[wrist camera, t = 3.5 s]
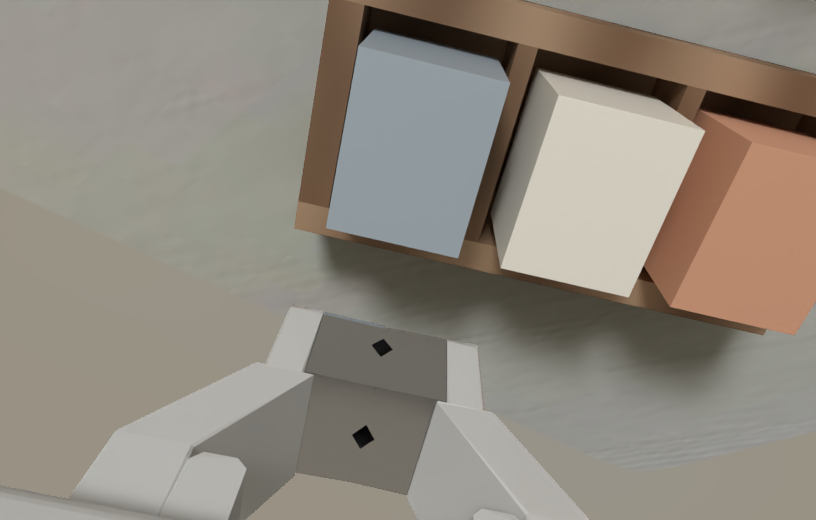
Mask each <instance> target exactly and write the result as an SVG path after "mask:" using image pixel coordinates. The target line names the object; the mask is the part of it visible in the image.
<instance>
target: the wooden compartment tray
mask: <svg viewBox="0 0 816 520" xmlns="http://www.w3.org/2000/svg"><path fill="white" fill-rule="evenodd" d="M375 28H380V29H384V30H388V31H392V32H396V33H400V34H404V35H408V36H412V37H416V38H420V39H424V40H428V41H432V42H436V43H440V44H444V45H448V46H452V47H456V48H461V49H465V50H469V51H473V52H477V53H481V54H485V55H489V56H493V57H497V58H498V60H499V62H500V64H501V66H502V68H503V70H504V72H505V74H506V76H507V78H508V80H509V82H510V86H509V89H508V92H507V96H506V99H505V102H504V106H503V109H502V112H501V116H500V119H499V123H498V126H497V129H496V133H495V136H494V139H493V143H492V146H491V149H490V153H489V156H488V159H487V163H486V166H485V170H484V173H483V176H482V180H481V183H480V186H479V190H478V193H477V196H476V200H475V203H474V206H473V210H472V213H471V217H470V220H469V223H468V227H467V230H466V233H465V237H464V240H463V243H462V247H461V250H460V253H459V257H458V258H454V257H450V256H445V255H441V254H437V253H432V252H428V251H424V250H419V249H415V248H410V247H406V246H402V245H397V244H393V243H389V242H384V241H380V240H375V239H371V238H367V237H362V236H358V235H354V234H349V233H345V232H341V231H336V230H332V229H327V228H326V224H327V219H328V213H329V208H330V202H331V197H332V191H333V185H334V180H335V174H336V169H337V163H338V158H339V152H340V146H341V141H342V135H343V130H344V124H345V118H346V113H347V107H348V102H349V96H350V91H351V85H352V79H353V74H354V68H355V63H356V57H357V52H358V46H359V45H360V44H361V43H362V42H363V41H364V40H365V39H366V38H367V37H368V35H369V34H370V33H371V32H372V31H373V30H374V29H375ZM536 67H537V68H541V69H545V70H549V71H554V72H558V73H562V74H566V75H570V76H574V77H578V78H582V79H586V80H590V81H594V82H598V83H602V84H606V85H610V86H614V87H618V88H622V89H626V90H630V91H634V92H638V93H643V94H647V95H651V96H654V97H656V98H657V99H659V100H660V101H662V102H663V103H665V104H666V105H668V106H669V107H671V108H672V109H674V110H675V111H677V112H678V113H680V114H681V115H683V116H684V117H686V118H687V119H688V120H690V121H691V122H693V120H694V118H695V116H696V114H697V111H698V109H699V108H703V109H707V110H711V111H715V112H719V113H723V114H727V115H732V116H736V117H740V118H744V119H748V120H752V121H756V122H760V123H764V124H768V125H772V126H776V127H780V128H784V129H788V130H792V131H796V132H800V133H804V134H808V135H810V136H812V137H814V138H816V74H813V73H809V72H805V71H801V70H797V69H793V68H789V67H785V66H781V65H777V64H773V63H769V62H765V61H761V60H758V59H754V58H750V57H746V56H742V55H738V54H734V53H730V52H726V51H722V50H718V49H714V48H710V47H706V46H702V45H698V44H694V43H690V42H686V41H682V40H678V39H674V38H671V37H667V36H663V35H659V34H655V33H651V32H647V31H643V30H639V29H635V28H631V27H627V26H623V25H619V24H615V23H611V22H607V21H603V20H599V19H595V18H591V17H587V16H584V15H580V14H576V13H572V12H568V11H564V10H560V9H556V8H552V7H548V6H544V5H540V4H536V3H532V2H528V1H524V0H329V5H328V11H327V18H326V24H325V31H324V37H323V44H322V50H321V57H320V64H319V70H318V77H317V83H316V90H315V96H314V103H313V109H312V116H311V122H310V129H309V135H308V142H307V149H306V155H305V162H304V168H303V175H302V181H301V188H300V194H299V201H298V207H297V214H296V220H295V227H294V228H295V229H299V230H304V231H308V232H312V233H317V234H321V235H326V236H330V237H334V238H339V239H343V240H347V241H352V242H356V243H361V244H365V245H369V246H374V247H378V248H382V249H387V250H391V251H396V252H400V253H404V254H409V255H413V256H418V257H422V258H426V259H431V260H435V261H439V262H444V263H448V264H453V265H457V266H461V267H466V268H470V269H475V270H479V271H483V272H488V273H492V274H496V275H501V276H505V277H510V278H514V279H518V280H523V281H527V282H532V283H536V284H540V285H545V286H549V287H553V288H558V289H562V290H567V291H571V292H575V293H580V294H584V295H589V296H593V297H597V298H602V299H606V300H610V301H615V302H619V303H624V304H628V305H632V306H637V307H641V308H645V309H650V310H654V311H659V312H663V313H667V314H672V315H676V316H681V317H685V318H689V319H694V320H698V321H702V322H707V323H711V324H716V325H720V326H724V327H729V328H733V329H738V330H742V331H746V332H751V333H755V334H759V335H764V333H765V331H766V330H767V329H765V328H760V327H756V326H751V325H747V324H743V323H738V322H734V321H730V320H725V319H721V318H716V317H712V316H708V315H703V314H699V313H695V312H690V311H686V310H681V309H677V308H673V307H670V306H669V305H668V303H667V301H666V300H665V298H664V297H663V295H662V294H661V292H660V290H659V289H658V287H657V286H656V284H655V283H654V281H653V280H652V278H651V276H650V275H649V273H648V272H647V270H646V269H645V267H644V265H643V268H642V270H641V272H640V274H639V276H638V278H637V281H636V283H635V285H634V287H633V289H632V291H631V294H630V296H629V297H625V296H620V295H616V294H612V293H607V292H603V291H598V290H594V289H590V288H585V287H581V286H577V285H572V284H568V283H563V282H559V281H555V280H550V279H546V278H542V277H537V276H533V275H528V274H524V273H520V272H515V271H511V270H507V269H502V268H500V262H499V257H498V251H497V245H496V240H495V234H494V228H493V223H492V217H491V210H492V207H493V204H494V201H495V198H496V194H497V191H498V188H499V185H500V182H501V178H502V175H503V172H504V169H505V166H506V162H507V159H508V156H509V153H510V150H511V146H512V143H513V140H514V137H515V134H516V131H517V127H518V124H519V121H520V118H521V115H522V111H523V108H524V105H525V102H526V99H527V95H528V92H529V89H530V86H531V83H532V80H533V76H534V73H535V70H536Z"/></svg>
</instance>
